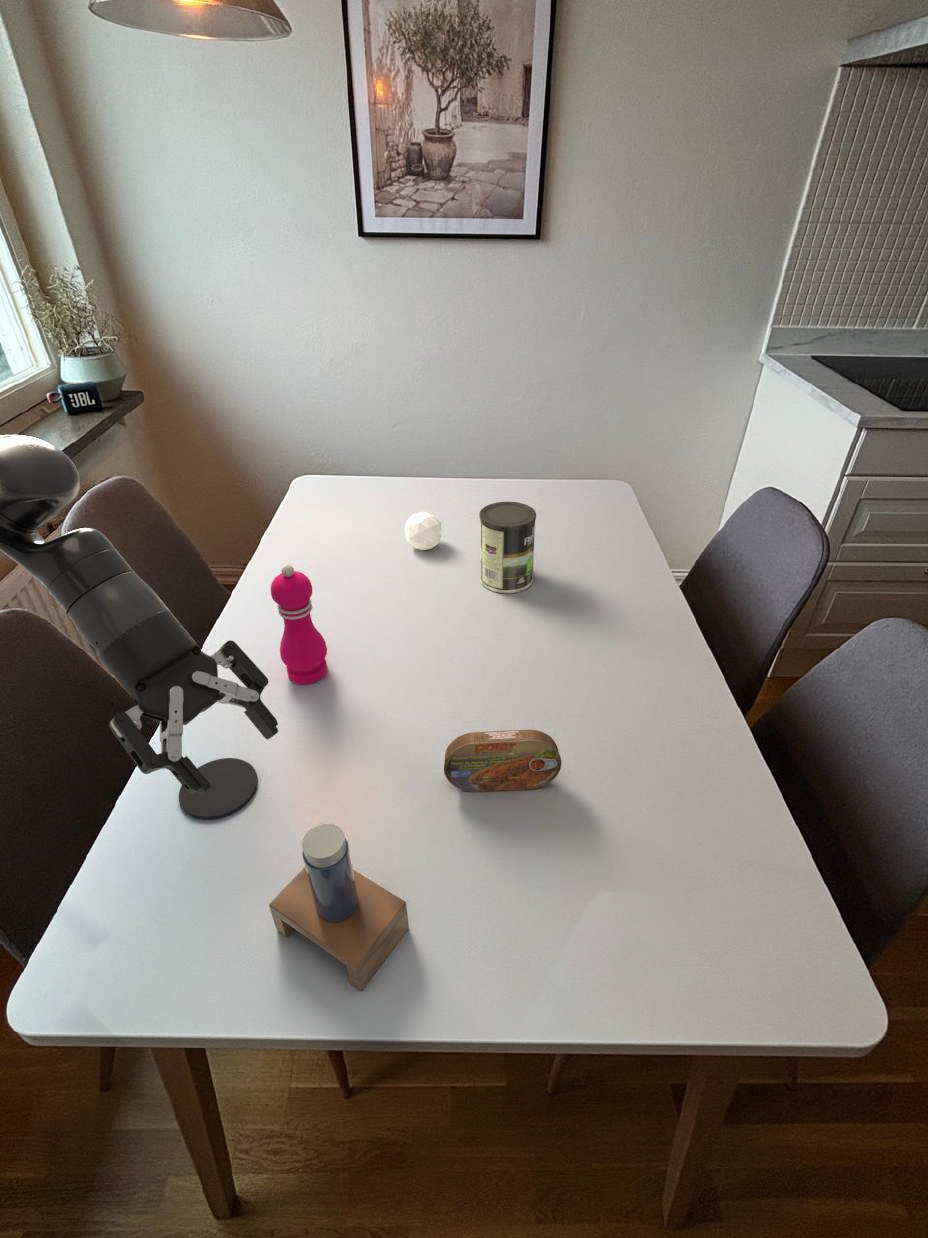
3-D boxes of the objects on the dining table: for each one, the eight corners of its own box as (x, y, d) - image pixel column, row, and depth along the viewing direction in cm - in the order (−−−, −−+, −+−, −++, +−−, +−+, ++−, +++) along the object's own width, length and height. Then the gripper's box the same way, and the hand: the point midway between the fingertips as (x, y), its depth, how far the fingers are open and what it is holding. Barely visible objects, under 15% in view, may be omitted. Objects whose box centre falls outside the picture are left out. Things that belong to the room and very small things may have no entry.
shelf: (361, 992, 68) (356, 966, 66) (276, 930, 74) (268, 904, 71) (409, 928, 74) (406, 902, 71) (327, 875, 79) (321, 849, 76)
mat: (214, 832, 85) (213, 829, 84) (163, 798, 89) (162, 795, 89) (273, 780, 91) (273, 777, 91) (223, 750, 96) (222, 747, 96)
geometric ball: (415, 557, 145) (398, 523, 144) (449, 540, 144) (432, 505, 144) (414, 557, 137) (395, 521, 136) (449, 539, 137) (431, 503, 136)
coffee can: (537, 568, 134) (540, 503, 126) (527, 597, 126) (530, 529, 118) (486, 562, 137) (486, 498, 129) (473, 590, 129) (473, 523, 120)
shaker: (339, 931, 69) (324, 868, 62) (307, 909, 71) (290, 846, 64) (367, 897, 72) (356, 834, 65) (335, 877, 74) (322, 814, 67)
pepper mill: (316, 652, 114) (296, 547, 102) (339, 673, 109) (321, 566, 98) (277, 671, 110) (252, 564, 98) (299, 693, 106) (275, 584, 94)
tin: (445, 793, 89) (442, 748, 84) (444, 775, 92) (442, 729, 87) (559, 789, 89) (564, 743, 84) (556, 770, 92) (560, 725, 87)
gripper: (69, 658, 57) (192, 805, 59) (205, 581, 67) (308, 709, 69) (56, 684, 63) (169, 818, 64) (183, 609, 73) (279, 727, 74)
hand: (241, 762), depth 66 cm, fingers open, 8 cm apart
